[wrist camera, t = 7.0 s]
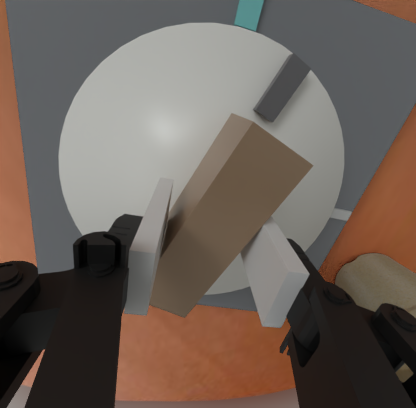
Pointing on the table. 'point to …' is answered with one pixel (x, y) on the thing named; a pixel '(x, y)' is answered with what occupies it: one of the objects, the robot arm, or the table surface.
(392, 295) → the flower pot
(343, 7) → the base plate
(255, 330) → the table surface
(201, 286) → the dial
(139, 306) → the robot arm
